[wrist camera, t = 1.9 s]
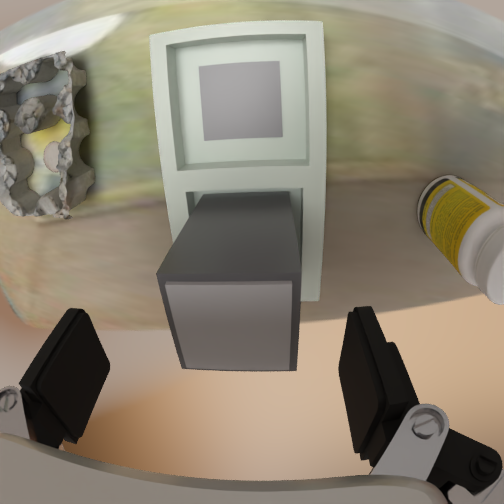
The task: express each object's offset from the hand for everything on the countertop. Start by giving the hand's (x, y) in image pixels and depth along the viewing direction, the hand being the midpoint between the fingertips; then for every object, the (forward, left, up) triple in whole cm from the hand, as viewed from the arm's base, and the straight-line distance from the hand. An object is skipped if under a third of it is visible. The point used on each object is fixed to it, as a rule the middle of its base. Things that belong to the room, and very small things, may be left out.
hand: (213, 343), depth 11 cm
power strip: (+2, -3, -11) cm, 11 cm away
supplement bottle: (-10, -10, -11) cm, 18 cm away
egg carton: (+14, +3, -11) cm, 18 cm away
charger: (0, -1, -9) cm, 9 cm away
